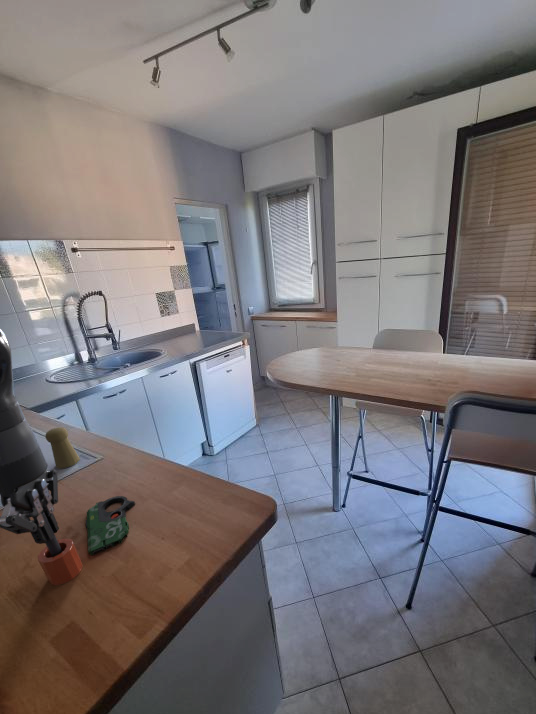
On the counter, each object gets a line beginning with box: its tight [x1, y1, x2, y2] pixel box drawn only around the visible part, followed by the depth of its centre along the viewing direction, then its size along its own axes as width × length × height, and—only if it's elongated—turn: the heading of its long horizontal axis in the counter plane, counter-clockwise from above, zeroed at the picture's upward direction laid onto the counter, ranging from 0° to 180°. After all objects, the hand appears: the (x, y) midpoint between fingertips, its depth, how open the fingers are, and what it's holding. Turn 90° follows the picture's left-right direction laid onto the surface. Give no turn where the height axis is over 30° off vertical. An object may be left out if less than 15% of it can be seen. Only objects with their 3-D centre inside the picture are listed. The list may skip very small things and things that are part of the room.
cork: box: [45, 426, 81, 470], centre depth 95 cm, size 6×6×11 cm
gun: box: [85, 495, 136, 556], centre depth 72 cm, size 16×1×10 cm
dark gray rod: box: [32, 511, 63, 557], centre depth 58 cm, size 2×2×12 cm
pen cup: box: [37, 537, 83, 586], centre depth 60 cm, size 5×5×6 cm
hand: (48, 536), depth 58 cm, fingers closed on dark gray rod, 1 cm apart
